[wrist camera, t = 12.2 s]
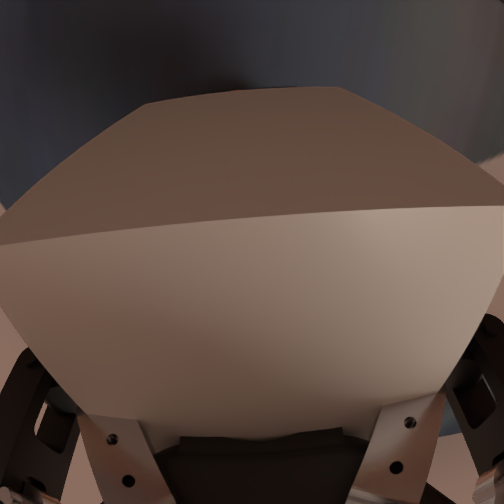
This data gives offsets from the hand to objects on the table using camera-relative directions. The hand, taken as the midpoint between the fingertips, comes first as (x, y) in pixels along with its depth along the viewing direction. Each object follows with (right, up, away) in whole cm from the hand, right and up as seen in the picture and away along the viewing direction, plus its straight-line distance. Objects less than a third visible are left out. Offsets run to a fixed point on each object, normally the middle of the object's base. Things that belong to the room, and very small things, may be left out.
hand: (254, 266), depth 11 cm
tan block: (0, +1, +2) cm, 2 cm away
